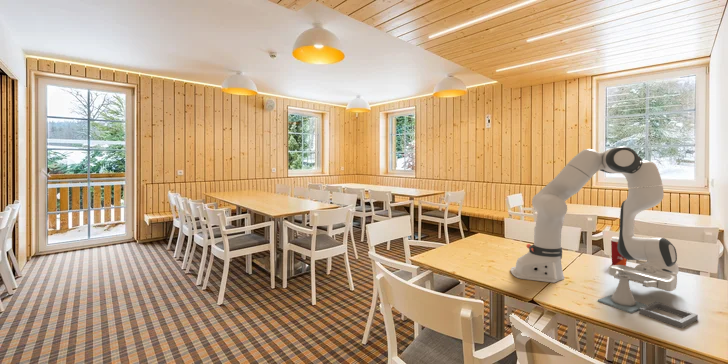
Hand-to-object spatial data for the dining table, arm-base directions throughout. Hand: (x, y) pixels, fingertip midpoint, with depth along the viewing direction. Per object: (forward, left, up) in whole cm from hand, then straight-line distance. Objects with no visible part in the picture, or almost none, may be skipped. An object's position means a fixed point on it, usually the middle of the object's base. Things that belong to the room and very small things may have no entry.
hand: (630, 280), depth 124 cm
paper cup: (+18, +46, -8) cm, 50 cm away
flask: (-3, -3, -8) cm, 9 cm away
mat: (-4, -3, -8) cm, 10 cm away
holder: (+6, -11, -8) cm, 15 cm away
